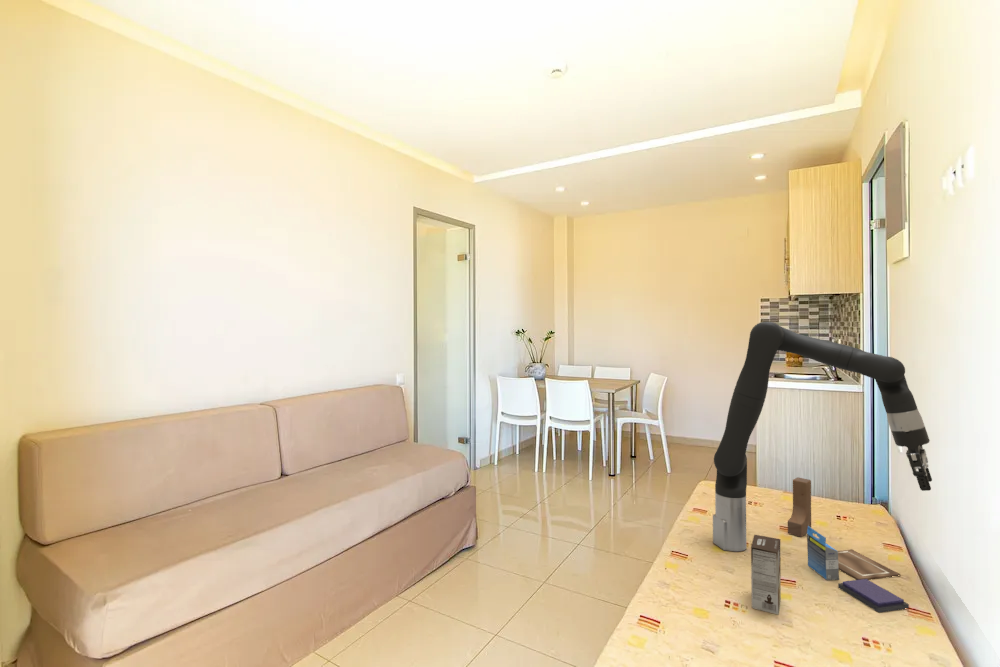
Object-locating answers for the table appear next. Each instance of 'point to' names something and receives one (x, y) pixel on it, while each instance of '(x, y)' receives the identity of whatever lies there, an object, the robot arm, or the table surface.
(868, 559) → the walnut board
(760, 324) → the robot arm
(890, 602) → the ink pad
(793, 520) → the wooden block
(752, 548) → the coffee box
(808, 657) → the table surface
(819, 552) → the label tape box
